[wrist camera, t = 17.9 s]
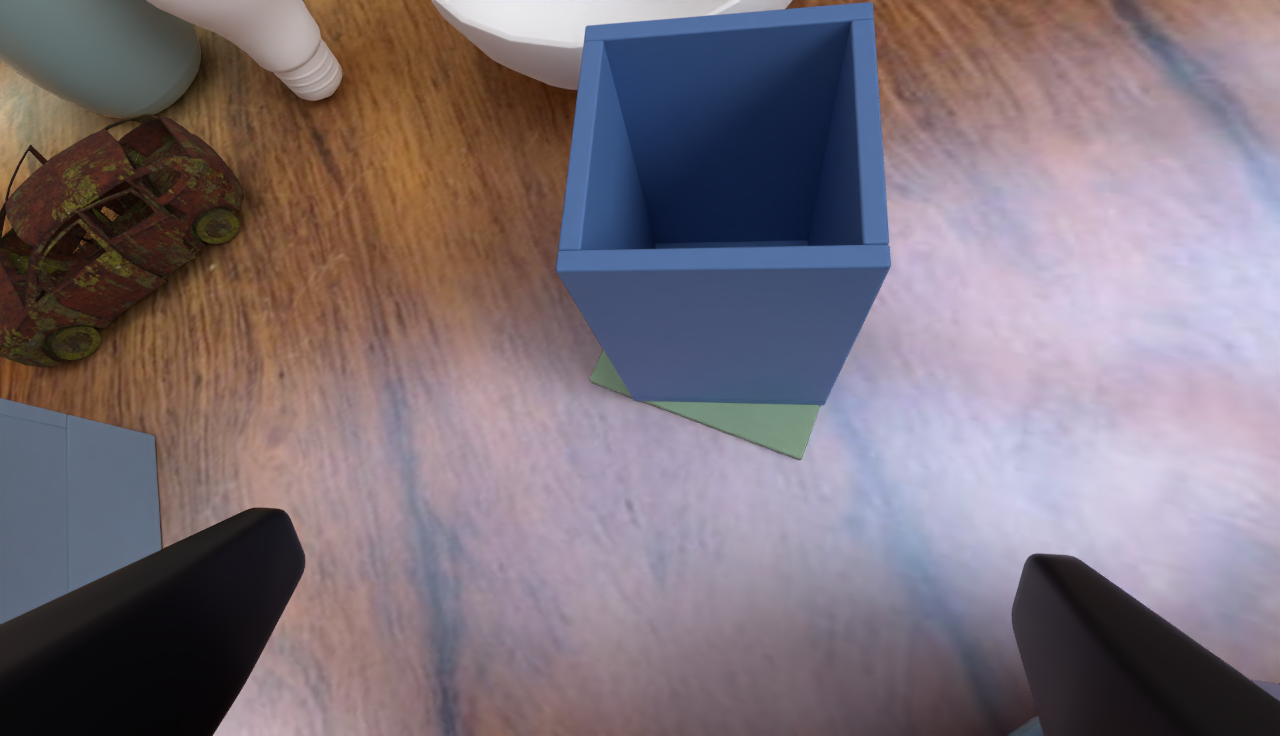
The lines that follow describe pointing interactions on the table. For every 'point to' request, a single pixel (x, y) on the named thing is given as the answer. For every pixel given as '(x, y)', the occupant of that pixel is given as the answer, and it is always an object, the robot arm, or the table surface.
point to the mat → (733, 415)
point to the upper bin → (728, 201)
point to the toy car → (105, 233)
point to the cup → (101, 52)
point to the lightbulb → (269, 39)
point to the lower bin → (70, 503)
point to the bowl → (565, 27)
